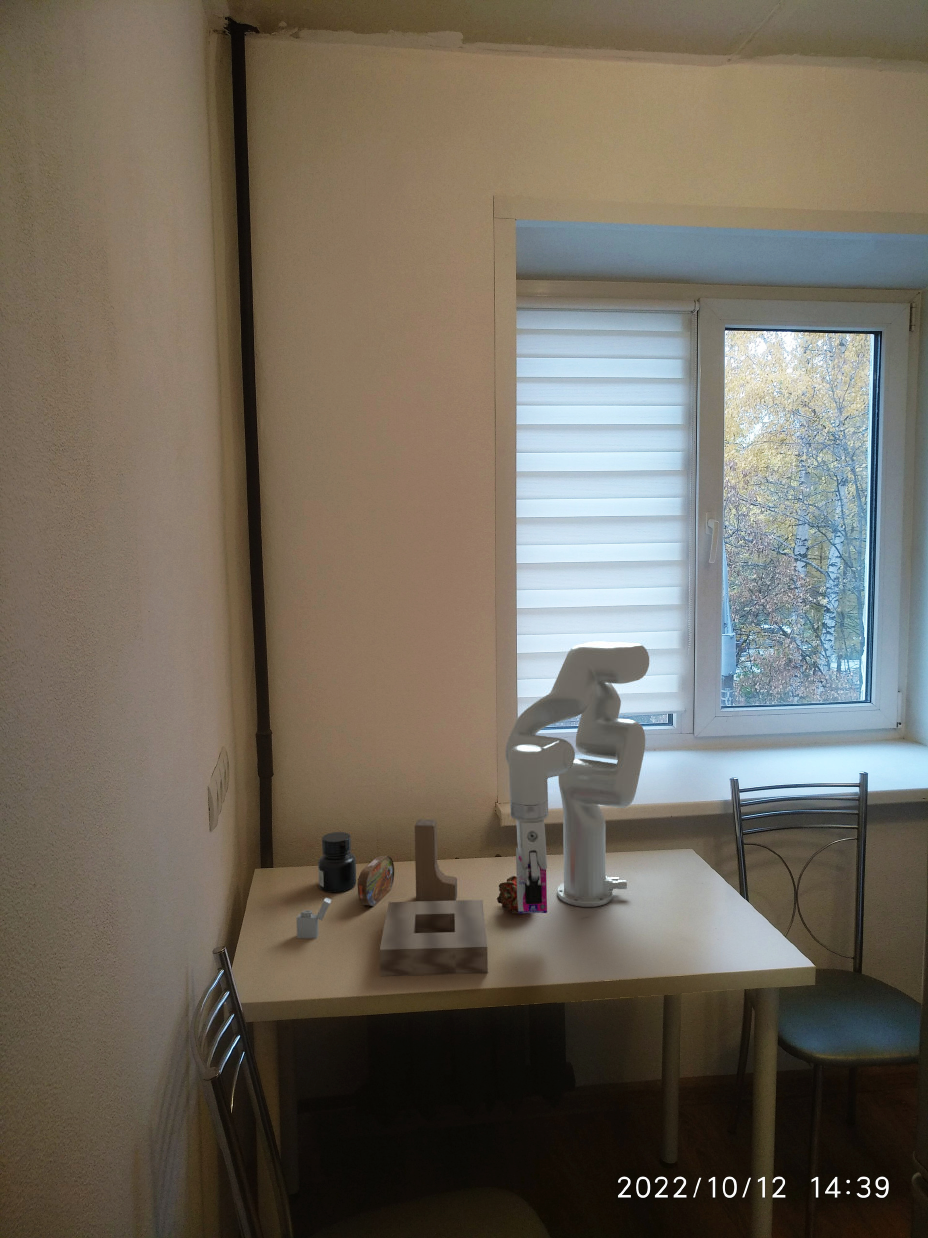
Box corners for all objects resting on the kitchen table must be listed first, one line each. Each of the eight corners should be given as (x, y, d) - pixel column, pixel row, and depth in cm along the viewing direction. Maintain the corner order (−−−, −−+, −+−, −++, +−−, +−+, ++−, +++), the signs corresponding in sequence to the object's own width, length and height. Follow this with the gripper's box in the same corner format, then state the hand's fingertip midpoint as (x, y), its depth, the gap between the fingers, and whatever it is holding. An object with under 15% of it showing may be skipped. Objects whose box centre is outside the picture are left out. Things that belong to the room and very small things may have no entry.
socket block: (482, 922, 159) (482, 900, 158) (487, 973, 139) (487, 947, 138) (388, 925, 158) (388, 902, 158) (380, 976, 138) (379, 949, 138)
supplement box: (518, 914, 146) (516, 858, 145) (517, 900, 152) (515, 846, 151) (547, 914, 146) (546, 858, 145) (545, 900, 152) (543, 845, 151)
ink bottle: (329, 876, 185) (328, 828, 184) (362, 879, 182) (361, 831, 182) (311, 892, 175) (310, 842, 175) (346, 896, 173) (344, 845, 172)
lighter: (296, 938, 153) (295, 900, 153) (299, 934, 155) (298, 896, 154) (330, 938, 153) (329, 900, 152) (332, 934, 154) (331, 897, 154)
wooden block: (457, 895, 172) (456, 819, 171) (455, 904, 168) (454, 826, 167) (418, 894, 173) (417, 819, 172) (415, 903, 168) (414, 825, 167)
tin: (368, 912, 164) (367, 875, 164) (355, 910, 165) (354, 873, 165) (396, 885, 179) (395, 851, 178) (384, 884, 180) (383, 849, 179)
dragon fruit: (508, 930, 158) (519, 913, 170) (540, 909, 157) (549, 894, 168) (486, 895, 160) (498, 881, 172) (517, 874, 159) (527, 861, 170)
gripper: (554, 823, 139) (556, 915, 140) (542, 793, 156) (544, 876, 158) (514, 825, 139) (517, 917, 140) (506, 794, 156) (509, 877, 157)
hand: (531, 894), depth 149 cm, fingers closed on supplement box, 5 cm apart
